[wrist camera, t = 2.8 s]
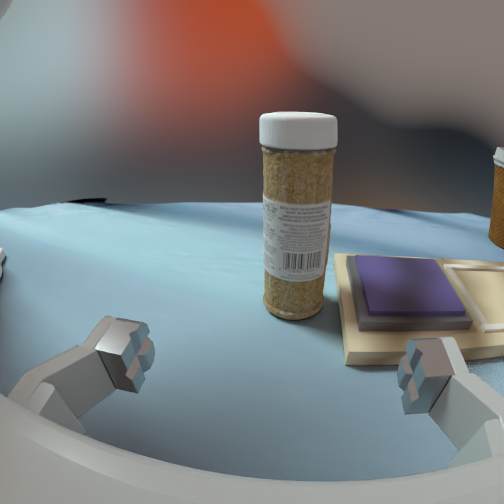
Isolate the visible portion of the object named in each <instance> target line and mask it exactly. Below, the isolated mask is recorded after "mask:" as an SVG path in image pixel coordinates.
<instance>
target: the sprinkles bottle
mask: <svg viewBox="0 0 504 504" xmlns="http://www.w3.org/2000/svg"><path fill="white" fill-rule="evenodd" d="M260 143H261V144H262V145H263V147H262V151H263V165H264V170H263V171H264V172H263V175H264V191H263V243H264V267H265V293H264V296H263V303H264V305H265V307H266V309H267V310H268V311H269V312H271V313H272V314H274V315H275V316H278V317H281V318H283V319H289V320H291V319H292V320H299V319H304V318H308V317H311V316H313V315H315V314H316V313H317V312H318V311H319V310H320V309H321V308H322V306H323V299H324V297H323V288H324V280H325V271H326V265H327V261H328V252H329V241H330V229H331V224H330V216H331V202H332V201H331V200H332V199H331V198H332V184H333V183H332V180H333V156H334V154H335V152H336V150H335V149H334V147H335V146H337V119H336V117H334V116H332V115H326V114H322V113H309V112H274V113H266V114H263V115H261V117H260Z"/></svg>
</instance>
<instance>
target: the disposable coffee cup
mask: <svg viewBox="0 0 504 504" xmlns="http://www.w3.org/2000/svg"><path fill="white" fill-rule="evenodd" d="M493 158H494V163H495V180H494V194H493V204H492V213H491V221H490V229H489V238H490V239H491V241H493V242H494V243H495V244H496V245H498V246H499V247H501V248H503V249H504V148H501V147H498V148H497V151H496V153H495V155H493Z"/></svg>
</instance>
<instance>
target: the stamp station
mask: <svg viewBox="0 0 504 504" xmlns="http://www.w3.org/2000/svg"><path fill="white" fill-rule="evenodd" d="M333 266H334V273H335V280H336V287H337V295H338V302H339V310H340V319H341V328H342V337H343V347H344V357H345V365H399V363H400V360H401V358H402V357H403V356H405V355H406V354H407V353H406V349H405V347H406V345H407V342H408V341H409V340H410V339H421V338H439V337H453V338H454V339H455V341H456V343H457V345H458V347H459V349H460V352H461V354H462V356H463V358H464V361H466V360H476V359H485V358H493V357H501V356H504V262H492V261H473V260H455V259H436V258H417V257H398V256H379V255H360V254H340V253H335V255H334V263H333Z"/></svg>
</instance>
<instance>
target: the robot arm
mask: <svg viewBox="0 0 504 504" xmlns="http://www.w3.org/2000/svg"><path fill="white" fill-rule="evenodd" d="M12 1H13V0H0V20H1V18H2V17H3V16H4V15H5V13H6V12H7V10H8V8H9V7H10V5H11V3H12ZM4 258H5V252H4V250H3V248H0V278H1V275H2V266H1V264H2V261H3V260H4ZM149 332H150V331H149V328H148V325H147V324H146V323H144V322H139V321H133V320H128V319H123V318H116V317H111V316H105V317H103V318H102V319H101V320H100V322H99V323H98V324H97V326H96V327H95V328H94V329H93V331H92V332H91V333H90V335H89V336H88V337H87V339H86V340H85V341H84V343H83V344H82V345H81V346H78V345H77V346H75V347H73V348H72V349H70V350H68V351H66V352H64V353H62V354H60V355H58V356H56V357H54V358H52V359H50V360H48V361H46V362H44V363H42V364H40V365H38V366H36V367H34V368H32V369H30V370H28V371H26V372H25V373H24V374H23V375H22V377H21V378H20V379H19V381H18V382H17V383H16V385H15V386H14V388H13V389H12V390H11V392H10V393H9V394H8V396H7V397H5V396H4V395H2V394H0V504H504V397H503V396H502V395H500V394H499V393H498V392H497V391H495V390H494V389H493V388H492V387H491V386H489V385H488V384H487V383H486V382H484V381H483V380H482V379H481V378H479V377H478V376H477V375H475V374H474V373H470V372H469V370H468V368H467V365H466V363H465V361H464V358H463V356H462V354H461V352H460V349H459V347H458V345H457V343H456V341H455V339H454V338H453V337H439V338H421V339H410V340H409V341H408V342H407V345H406V347H405V349H406V353H407V354H406V355H405V356H403V357H402V358H401V360H400V363H399V366H398V373H397V376H398V384H399V387H400V388H401V389H402V390H403V391H404V393H403V395H402V397H401V399H402V403H403V408H404V413H405V415H406V414H421V413H429V415H430V417H431V418H432V419H433V420H434V421H435V423H436V424H437V425H438V426H439V427H440V429H441V430H442V431H443V432H444V433H445V435H446V436H447V437H448V438H449V439H450V441H451V442H452V443H453V444H454V446H455V447H456V448H457V449H458V450H459V452H458V453H457V454H456V455H455V456H454V457H453V458H452V459H451V460H450V461H449V462H448V464H447V466H448V468H447V469H443V470H438V471H433V472H427V473H421V474H415V475H408V476H401V477H393V478H383V479H372V480H358V481H288V480H273V479H262V478H252V477H244V476H236V475H229V474H223V473H217V472H211V471H206V470H200V469H195V468H190V467H186V466H181V465H177V464H173V463H169V462H165V461H161V460H157V459H153V458H150V457H146V456H143V455H139V454H136V453H133V452H130V451H126V450H123V449H120V448H117V447H114V446H112V445H109V444H106V443H103V442H100V441H98V440H95V439H92V438H90V437H87V436H85V435H84V433H85V429H84V427H83V426H82V424H81V423H80V422H79V420H78V419H77V418H79V417H80V416H81V415H83V414H84V413H86V412H87V411H88V410H90V409H91V408H92V407H94V406H95V405H96V404H98V403H99V402H100V401H102V400H103V399H104V398H106V397H107V396H108V395H110V394H111V393H112V392H114V391H115V390H116V389H120V390H125V391H129V392H134V393H138V392H139V390H140V388H141V386H142V384H143V382H144V380H145V376H144V372H146V371H147V370H149V369H150V368H151V366H152V364H153V362H154V356H155V348H154V344H153V342H152V341H151V340H150V339H149V338H148V337H147V336H148V334H149ZM115 388H116V389H115Z"/></svg>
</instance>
